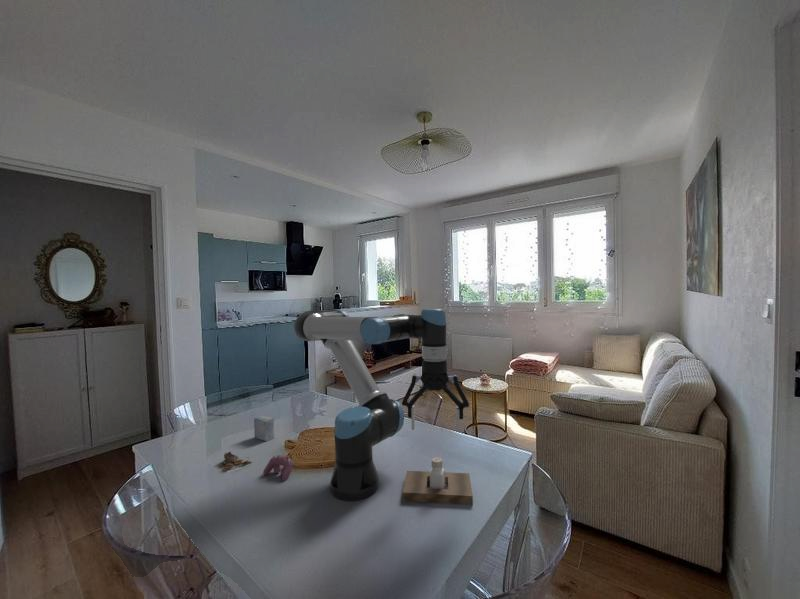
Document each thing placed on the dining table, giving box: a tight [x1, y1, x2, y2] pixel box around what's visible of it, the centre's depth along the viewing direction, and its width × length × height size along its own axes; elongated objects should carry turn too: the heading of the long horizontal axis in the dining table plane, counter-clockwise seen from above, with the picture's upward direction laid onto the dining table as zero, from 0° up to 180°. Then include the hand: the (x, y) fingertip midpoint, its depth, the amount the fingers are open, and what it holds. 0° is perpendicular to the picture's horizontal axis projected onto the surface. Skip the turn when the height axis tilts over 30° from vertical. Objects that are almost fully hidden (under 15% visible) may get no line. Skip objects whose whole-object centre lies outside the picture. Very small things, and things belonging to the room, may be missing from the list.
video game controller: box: [262, 454, 295, 482], centre depth 111 cm, size 10×5×7 cm, turn 66°
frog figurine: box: [219, 451, 253, 473], centre depth 118 cm, size 12×12×4 cm
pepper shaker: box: [429, 457, 446, 489], centre depth 99 cm, size 4×4×10 cm
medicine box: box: [253, 414, 275, 442], centre depth 141 cm, size 8×4×9 cm, turn 58°
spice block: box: [402, 470, 474, 506], centre depth 99 cm, size 20×12×2 cm, turn 83°
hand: (435, 428), depth 99 cm, fingers open, 13 cm apart
